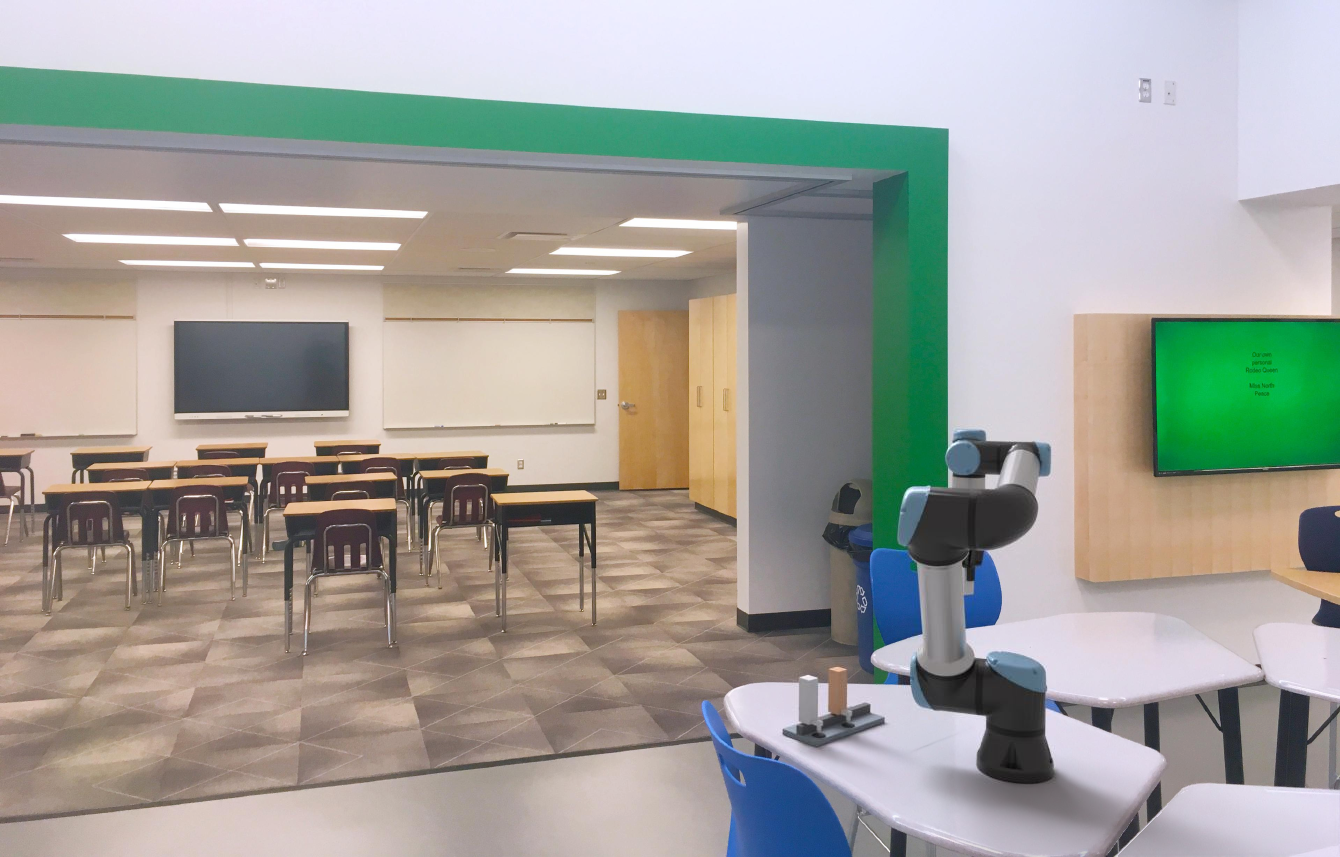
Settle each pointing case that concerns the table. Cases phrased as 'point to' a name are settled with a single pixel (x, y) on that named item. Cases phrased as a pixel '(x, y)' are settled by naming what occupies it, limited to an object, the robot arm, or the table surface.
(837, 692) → the post
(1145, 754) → the table surface
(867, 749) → the table surface
